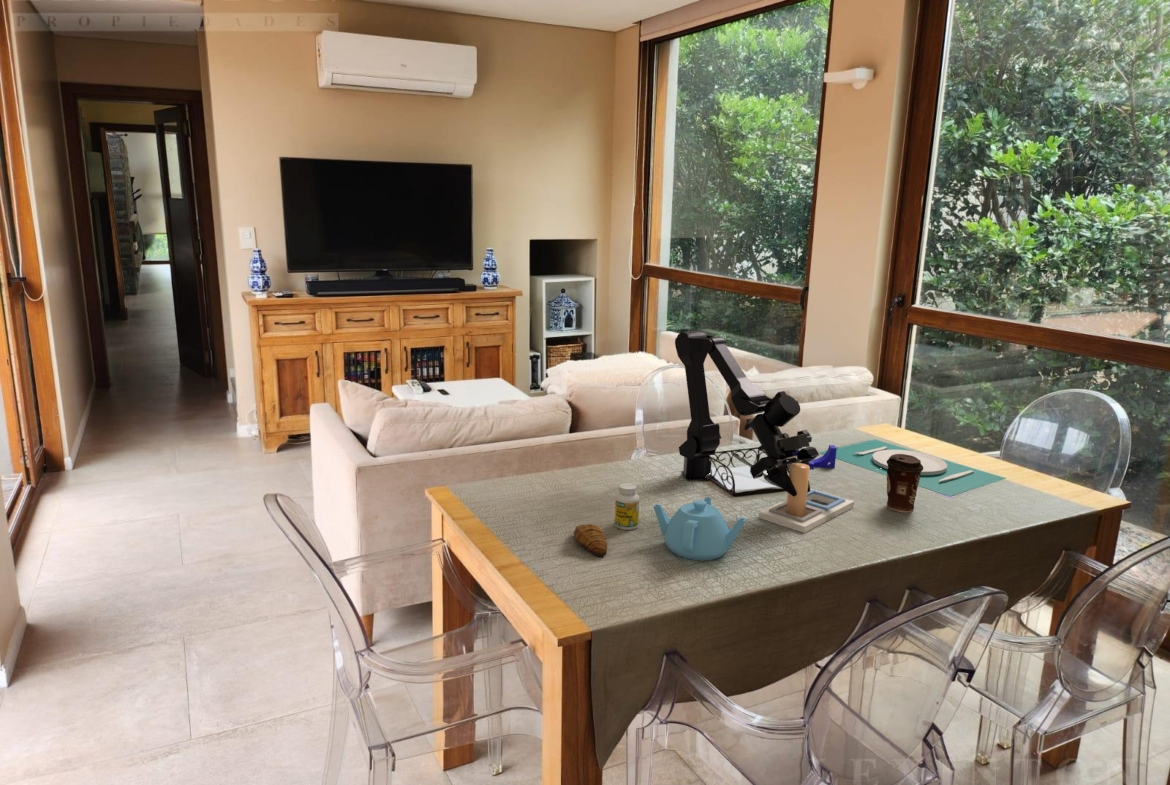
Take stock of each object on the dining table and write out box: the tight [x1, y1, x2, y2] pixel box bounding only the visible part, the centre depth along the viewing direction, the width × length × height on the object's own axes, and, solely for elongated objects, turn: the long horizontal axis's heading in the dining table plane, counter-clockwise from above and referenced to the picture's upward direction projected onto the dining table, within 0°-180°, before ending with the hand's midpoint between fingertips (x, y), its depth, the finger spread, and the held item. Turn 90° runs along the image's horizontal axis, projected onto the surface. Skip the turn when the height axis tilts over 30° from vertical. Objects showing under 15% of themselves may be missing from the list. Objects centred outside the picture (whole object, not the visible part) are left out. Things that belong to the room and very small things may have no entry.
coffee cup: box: [886, 454, 923, 514], centre depth 200 cm, size 9×8×13 cm
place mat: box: [818, 439, 1007, 500], centre depth 235 cm, size 45×30×2 cm
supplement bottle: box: [614, 482, 640, 531], centre depth 184 cm, size 5×5×10 cm
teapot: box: [653, 496, 748, 561], centre depth 173 cm, size 15×15×11 cm
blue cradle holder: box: [793, 444, 838, 470], centre depth 231 cm, size 12×4×6 cm, turn 86°
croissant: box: [572, 523, 608, 557], centre depth 174 cm, size 14×7×5 cm, turn 23°
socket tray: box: [758, 487, 855, 534], centre depth 197 cm, size 24×12×2 cm, turn 136°
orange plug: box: [785, 463, 810, 518], centre depth 191 cm, size 4×4×13 cm
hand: (802, 493), depth 190 cm, fingers closed on orange plug, 4 cm apart
